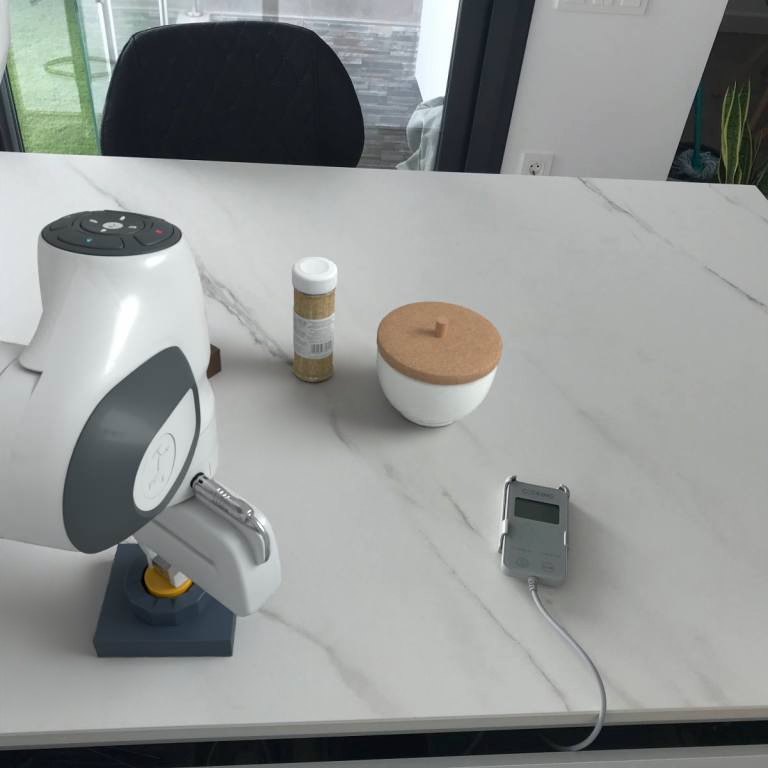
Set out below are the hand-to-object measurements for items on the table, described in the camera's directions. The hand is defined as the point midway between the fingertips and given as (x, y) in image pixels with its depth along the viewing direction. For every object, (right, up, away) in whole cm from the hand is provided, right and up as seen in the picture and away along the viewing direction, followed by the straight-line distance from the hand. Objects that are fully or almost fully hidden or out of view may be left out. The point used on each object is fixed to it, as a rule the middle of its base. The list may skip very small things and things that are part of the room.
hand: (171, 572), depth 59 cm
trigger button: (0, -1, +1) cm, 2 cm away
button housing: (0, -3, +3) cm, 4 cm away
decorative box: (+21, +12, +24) cm, 34 cm away
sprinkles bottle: (+8, +16, +27) cm, 32 cm away
